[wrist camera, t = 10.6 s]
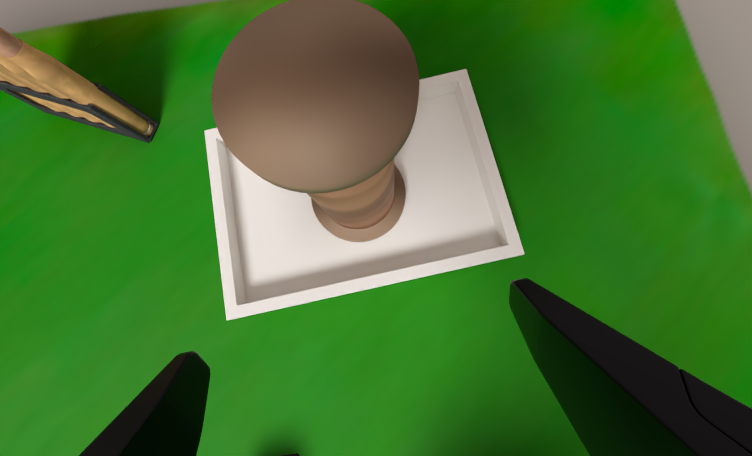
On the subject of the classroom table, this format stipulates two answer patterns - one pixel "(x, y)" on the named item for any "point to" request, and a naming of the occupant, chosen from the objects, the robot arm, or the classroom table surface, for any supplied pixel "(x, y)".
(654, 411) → the robot arm
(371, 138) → the brown wooden spool
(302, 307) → the classroom table surface
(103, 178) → the classroom table surface
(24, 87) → the ammunition clip
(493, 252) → the white rectangular tray
